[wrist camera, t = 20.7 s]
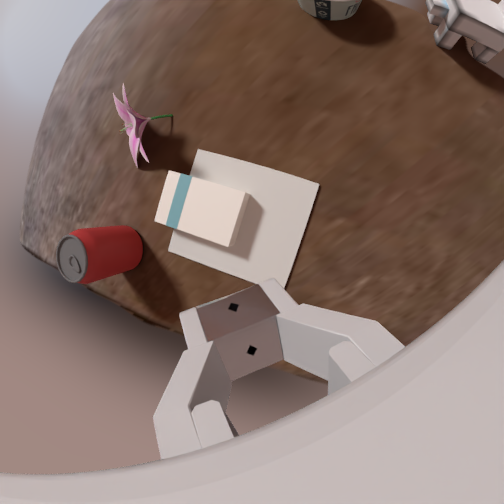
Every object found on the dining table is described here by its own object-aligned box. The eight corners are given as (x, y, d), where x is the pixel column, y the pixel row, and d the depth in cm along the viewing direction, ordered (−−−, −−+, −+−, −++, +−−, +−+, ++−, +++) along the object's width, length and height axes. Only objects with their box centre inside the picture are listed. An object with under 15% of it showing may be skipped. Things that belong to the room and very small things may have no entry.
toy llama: (413, 9, 26) (447, -68, 7) (494, 41, 23) (546, -9, 4) (422, 41, 27) (470, -39, 8) (505, 73, 24) (568, 28, 5)
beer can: (128, 279, 40) (73, 299, 28) (103, 246, 40) (47, 256, 28) (153, 248, 38) (98, 261, 26) (126, 215, 38) (68, 217, 27)
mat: (319, 184, 33) (319, 184, 33) (282, 292, 36) (282, 293, 35) (199, 149, 35) (198, 149, 35) (169, 250, 38) (168, 250, 37)
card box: (245, 192, 31) (168, 170, 33) (228, 247, 33) (154, 221, 34) (250, 194, 34) (179, 173, 36) (234, 244, 36) (165, 220, 37)
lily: (137, 94, 37) (84, 100, 30) (188, 69, 31) (128, 68, 24) (149, 163, 42) (99, 180, 35) (202, 154, 35) (144, 170, 28)
